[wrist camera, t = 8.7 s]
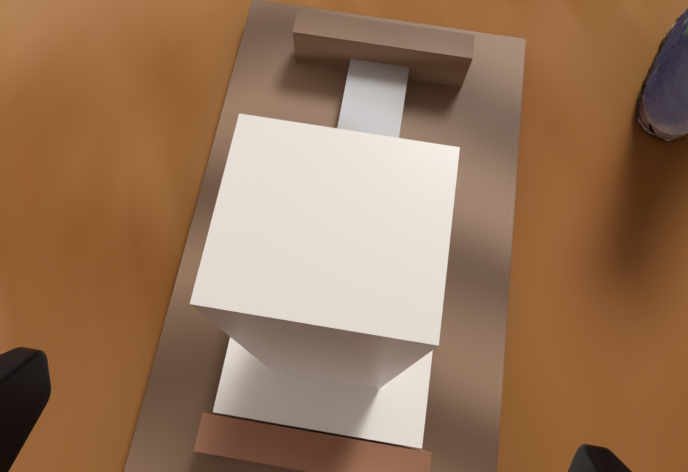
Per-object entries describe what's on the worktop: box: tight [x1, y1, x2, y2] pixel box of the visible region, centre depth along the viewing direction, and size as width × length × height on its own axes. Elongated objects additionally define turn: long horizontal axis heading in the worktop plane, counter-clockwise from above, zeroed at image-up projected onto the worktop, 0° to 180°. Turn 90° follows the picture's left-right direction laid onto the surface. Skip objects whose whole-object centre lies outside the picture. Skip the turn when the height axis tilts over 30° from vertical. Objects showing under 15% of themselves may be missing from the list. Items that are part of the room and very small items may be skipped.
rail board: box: [124, 0, 526, 472], centre depth 20 cm, size 20×12×3 cm, turn 170°
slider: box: [190, 113, 460, 449], centre depth 13 cm, size 6×6×11 cm
